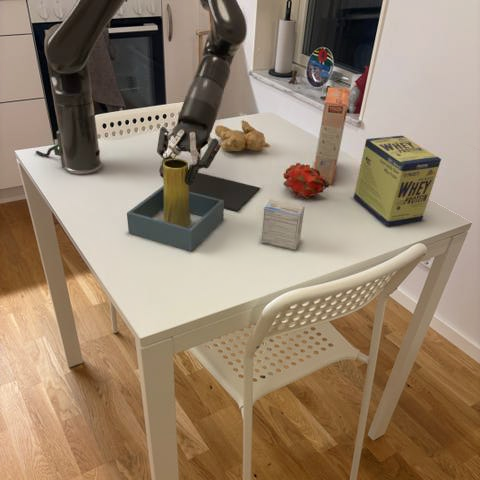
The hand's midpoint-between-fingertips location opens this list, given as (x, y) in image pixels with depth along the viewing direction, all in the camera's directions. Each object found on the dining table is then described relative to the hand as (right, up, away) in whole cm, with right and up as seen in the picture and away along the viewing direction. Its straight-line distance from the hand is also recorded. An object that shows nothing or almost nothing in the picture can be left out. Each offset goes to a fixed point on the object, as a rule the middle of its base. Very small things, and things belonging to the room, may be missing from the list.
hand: (175, 179), depth 108 cm
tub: (0, -8, +7) cm, 11 cm away
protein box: (+50, -2, +19) cm, 54 cm away
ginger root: (+14, +21, +44) cm, 51 cm away
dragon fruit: (+30, +3, +23) cm, 38 cm away
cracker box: (+37, +11, +34) cm, 51 cm away
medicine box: (+23, -13, +5) cm, 26 cm away
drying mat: (+7, +3, +22) cm, 23 cm away
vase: (0, -8, +7) cm, 11 cm away
